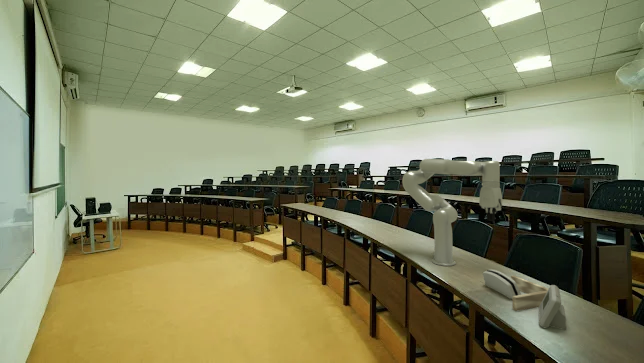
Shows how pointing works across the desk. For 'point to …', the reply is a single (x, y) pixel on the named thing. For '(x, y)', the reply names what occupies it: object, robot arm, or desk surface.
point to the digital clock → (552, 310)
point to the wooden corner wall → (531, 298)
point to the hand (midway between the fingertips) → (491, 220)
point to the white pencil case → (501, 283)
